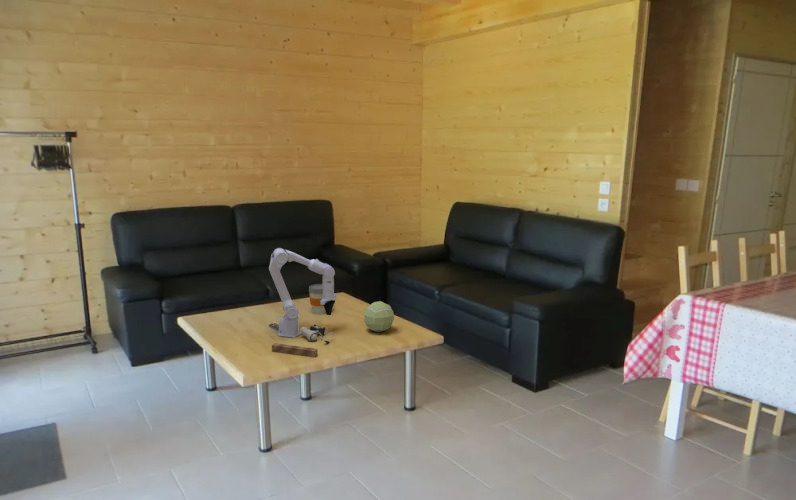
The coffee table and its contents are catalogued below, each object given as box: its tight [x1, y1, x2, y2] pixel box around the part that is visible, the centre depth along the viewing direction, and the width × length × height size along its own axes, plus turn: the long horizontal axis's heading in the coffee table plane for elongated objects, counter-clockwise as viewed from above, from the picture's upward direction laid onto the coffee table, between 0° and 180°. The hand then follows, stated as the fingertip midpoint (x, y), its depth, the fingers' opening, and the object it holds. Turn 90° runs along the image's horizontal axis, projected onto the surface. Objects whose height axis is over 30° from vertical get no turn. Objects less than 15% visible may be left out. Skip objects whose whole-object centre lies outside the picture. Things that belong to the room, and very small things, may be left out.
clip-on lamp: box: [299, 323, 335, 344], centre depth 283 cm, size 12×6×18 cm
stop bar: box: [271, 342, 318, 358], centre depth 264 cm, size 22×3×3 cm, turn 71°
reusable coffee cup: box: [308, 283, 326, 315], centre depth 326 cm, size 13×12×15 cm
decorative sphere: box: [363, 300, 395, 333], centre depth 295 cm, size 15×15×15 cm
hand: (328, 314), depth 294 cm, fingers closed
